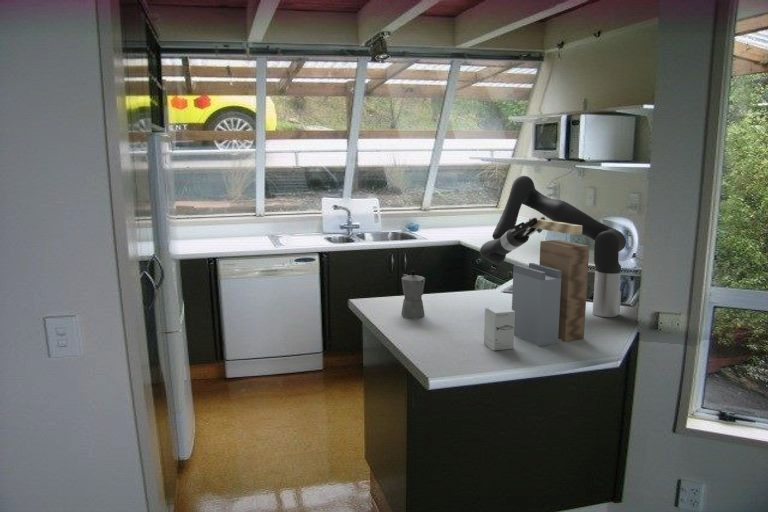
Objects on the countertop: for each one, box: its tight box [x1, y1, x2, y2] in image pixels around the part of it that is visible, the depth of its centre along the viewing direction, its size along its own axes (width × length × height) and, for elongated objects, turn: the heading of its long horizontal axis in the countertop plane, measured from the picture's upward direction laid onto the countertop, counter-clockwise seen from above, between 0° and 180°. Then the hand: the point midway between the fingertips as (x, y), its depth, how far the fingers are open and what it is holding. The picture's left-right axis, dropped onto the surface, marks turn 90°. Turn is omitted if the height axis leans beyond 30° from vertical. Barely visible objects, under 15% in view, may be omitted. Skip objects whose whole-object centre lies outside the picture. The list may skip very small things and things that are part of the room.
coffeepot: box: [398, 269, 426, 320], centre depth 216 cm, size 15×9×18 cm, turn 33°
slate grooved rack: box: [511, 262, 562, 347], centre depth 187 cm, size 8×15×24 cm, turn 23°
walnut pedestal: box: [538, 239, 590, 343], centre depth 190 cm, size 8×15×32 cm, turn 23°
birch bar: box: [528, 217, 582, 236], centre depth 192 cm, size 24×3×3 cm, turn 23°
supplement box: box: [483, 305, 515, 351], centre depth 180 cm, size 7×7×13 cm
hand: (540, 219), depth 198 cm, fingers closed on birch bar, 3 cm apart
